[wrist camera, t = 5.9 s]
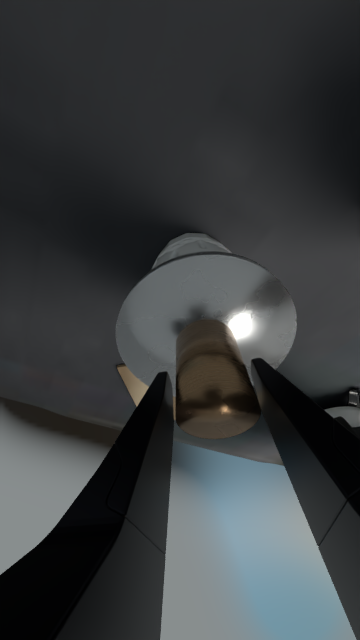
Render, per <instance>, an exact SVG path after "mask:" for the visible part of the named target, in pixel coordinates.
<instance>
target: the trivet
mask: <svg viewBox="0 0 360 640" xmlns="http://www.w3.org/2000/svg"><path fill="white" fill-rule="evenodd" d="M117 369H118V371H119V373H120V375H121V377H122V379H123V381H124V383H125V385H126V387H127V389H128V391H129V393H130V395H131V397H132V398H133V400H134V402H135V404H136V406H138V404H139V403H140V401H141V399H142V398H143V396H144V394H145V393H146V391H147V390H148V388H149V386H147V385H146V384H144V383H143V382H141V381H140V380H139V379H138V378H137V377H136V376H134V375H133V374H132V373H131V371H130V370H129V369H128V368H127V366H126V365H125V364H123V365H117ZM173 410H174V420H175V419H176V397H174V396H173Z"/></svg>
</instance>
